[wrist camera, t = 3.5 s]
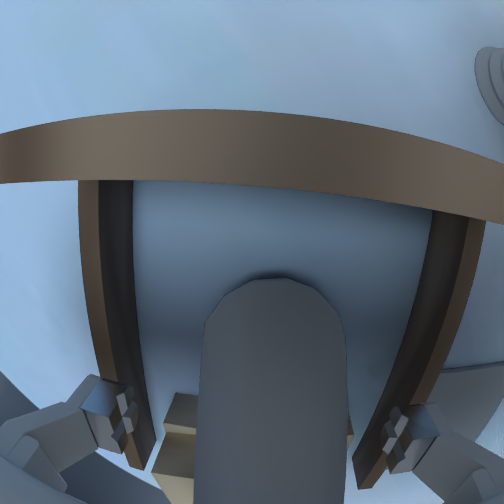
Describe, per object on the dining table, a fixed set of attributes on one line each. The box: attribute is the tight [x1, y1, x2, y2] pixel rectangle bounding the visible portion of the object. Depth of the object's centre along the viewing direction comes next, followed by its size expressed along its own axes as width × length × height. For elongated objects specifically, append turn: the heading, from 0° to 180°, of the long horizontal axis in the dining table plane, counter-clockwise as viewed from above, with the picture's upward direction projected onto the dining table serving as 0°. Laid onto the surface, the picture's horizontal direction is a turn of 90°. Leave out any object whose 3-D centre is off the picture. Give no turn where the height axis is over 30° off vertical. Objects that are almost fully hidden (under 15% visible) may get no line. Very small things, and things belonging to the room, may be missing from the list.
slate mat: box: [385, 362, 504, 470], centre depth 15 cm, size 10×10×1 cm
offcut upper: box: [151, 432, 196, 504], centre depth 12 cm, size 9×5×3 cm, turn 95°
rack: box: [0, 109, 504, 490], centre depth 11 cm, size 16×19×8 cm
